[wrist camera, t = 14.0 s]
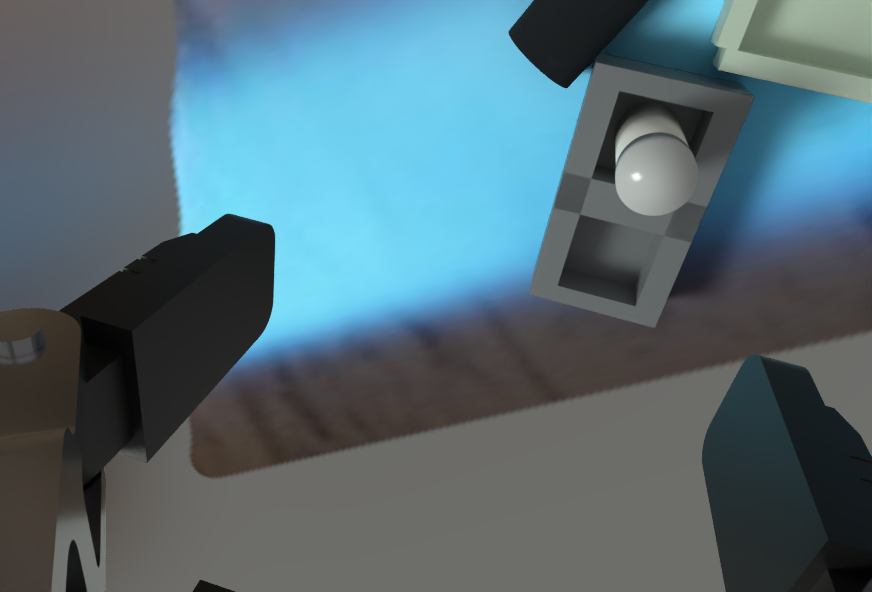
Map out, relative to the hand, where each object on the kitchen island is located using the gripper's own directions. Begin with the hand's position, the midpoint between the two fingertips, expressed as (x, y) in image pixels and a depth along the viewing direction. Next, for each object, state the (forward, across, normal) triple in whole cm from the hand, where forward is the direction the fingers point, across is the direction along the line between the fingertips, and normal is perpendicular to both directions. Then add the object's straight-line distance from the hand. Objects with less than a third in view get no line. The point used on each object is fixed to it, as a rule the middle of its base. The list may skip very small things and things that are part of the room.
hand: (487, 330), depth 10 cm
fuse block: (+34, -6, +8) cm, 36 cm away
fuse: (+33, -6, +4) cm, 34 cm away
